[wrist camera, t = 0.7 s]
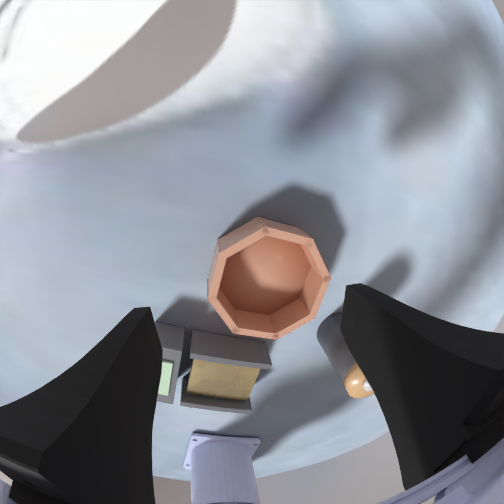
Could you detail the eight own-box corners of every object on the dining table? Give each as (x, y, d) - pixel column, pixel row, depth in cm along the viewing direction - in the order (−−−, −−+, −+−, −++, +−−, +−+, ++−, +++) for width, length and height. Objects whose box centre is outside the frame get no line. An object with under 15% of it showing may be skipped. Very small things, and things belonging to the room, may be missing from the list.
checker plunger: (246, 394, 22) (247, 400, 21) (187, 386, 21) (186, 392, 20) (260, 359, 21) (261, 366, 20) (194, 349, 20) (194, 356, 19)
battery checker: (245, 390, 24) (250, 415, 21) (149, 374, 22) (144, 399, 19) (265, 341, 22) (272, 366, 19) (155, 321, 20) (148, 345, 17)
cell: (344, 347, 24) (379, 400, 17) (310, 344, 23) (341, 403, 16) (360, 315, 23) (403, 363, 16) (326, 309, 22) (365, 364, 15)
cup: (293, 322, 22) (304, 343, 19) (201, 305, 20) (200, 327, 18) (325, 234, 20) (343, 246, 17) (225, 207, 18) (228, 216, 16)
